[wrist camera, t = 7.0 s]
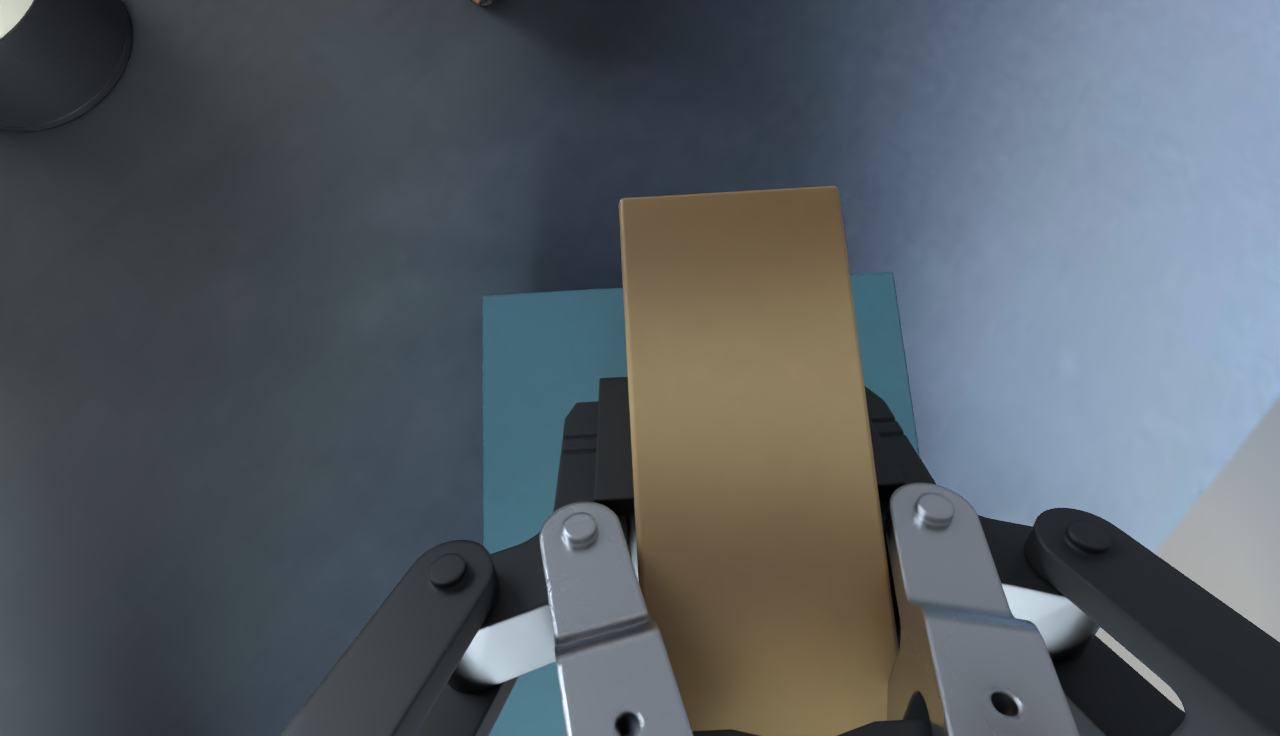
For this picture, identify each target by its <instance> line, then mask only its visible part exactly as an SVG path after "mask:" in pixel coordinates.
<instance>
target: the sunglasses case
mask: <svg viewBox="0 0 1280 736" xmlns="http://www.w3.org/2000/svg"><path fill="white" fill-rule="evenodd" d="M471 1H473V2H474V3H475V4H477V5H483V6H488V5H490V4H491V3H492V1H494V0H471Z"/></svg>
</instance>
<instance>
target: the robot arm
mask: <svg viewBox="0 0 1280 736" xmlns="http://www.w3.org/2000/svg"><path fill="white" fill-rule="evenodd" d="M865 394H866V402H867V409H868V417H869V425H870V432H871V440H872V448H873V455H874V463H875V471H876V478H877V486H878V494H879V501H880V509H881V517H882V524H883V532H884V540H885V547H886V555H887V563H888V570H889V578H890V586H891V593H892V601H893V609H894V616H895V624H896V632H897V639H898V647H899V651H898V654H897V657H896V660H895V663H894V666H893V668H892V671H891V674H890V677H889V680H888V695H887V721H874V722H872V723H869V724H866V725H864V726H861V727H858V728H856V729H853V730H850V731H848V732H845V733H842V734H840V735H837V736H1280V642H1278V641H1277V640H1275V639H1274V638H1273V637H1271V636H1270V635H1268V634H1267V633H1265V632H1264V631H1263V630H1261V629H1260V628H1258V627H1257V626H1256V625H1254V624H1253V623H1251V622H1250V621H1248V620H1247V619H1246V618H1244V617H1243V616H1241V615H1240V614H1239V613H1237V612H1236V611H1234V610H1233V609H1232V608H1230V607H1229V606H1227V605H1226V604H1225V603H1223V602H1222V601H1220V600H1219V599H1217V598H1216V597H1215V596H1213V595H1212V594H1210V593H1209V592H1208V591H1206V590H1205V589H1203V588H1202V587H1201V586H1199V585H1198V584H1196V583H1195V582H1193V581H1192V580H1190V579H1189V578H1188V577H1186V576H1185V575H1184V574H1182V573H1181V572H1179V571H1178V570H1176V569H1175V568H1174V567H1172V566H1171V565H1169V564H1168V563H1167V562H1165V561H1164V560H1162V559H1161V558H1159V557H1158V556H1157V555H1155V554H1154V553H1153V552H1151V551H1150V550H1148V549H1147V548H1145V547H1144V546H1143V545H1141V544H1140V543H1138V542H1137V541H1136V540H1134V539H1133V538H1131V537H1130V536H1129V535H1127V534H1126V533H1124V532H1123V531H1121V530H1120V529H1119V528H1117V527H1116V526H1114V525H1113V524H1111V523H1110V522H1108V521H1106V520H1104V519H1102V518H1100V517H1098V516H1096V515H1093V514H1091V513H1088V512H1084V511H1081V510H1076V509H1070V508H1055V509H1050V510H1047V511H1044V512H1043V513H1041V514H1040V515H1039V516H1038V517H1037V519H1036V521H1035V523H1034V526H1033V527H1031V526H1026V525H1020V524H1015V523H1010V522H1004V521H999V520H994V519H989V518H985V517H982V516H979V515H977V513H976V511H975V510H974V508H973V507H972V506H971V505H970V503H969V502H968V501H966V500H965V499H964V498H963V497H962V496H960V495H958V494H957V493H955V492H953V491H951V490H949V489H947V488H944V487H942V486H939V485H936V483H935V482H934V480H933V478H932V477H931V475H930V474H929V472H928V470H927V469H926V467H925V465H924V464H923V462H922V461H921V459H920V457H919V456H918V454H917V452H916V451H915V449H914V448H913V446H912V444H911V443H910V441H909V439H908V438H907V436H906V435H904V433H903V432H904V431H903V430H902V428H901V426H900V425H899V423H898V422H897V421H895V417H894V415H893V413H892V412H891V410H890V409H889V407H888V405H887V404H886V402H885V401H884V400H883V399H882V398H880V397H879V396H878V395H876V394H875V393H874V392H872V391H871V390H870V389H868V388H867V387H866V386H865ZM1100 627H1101V628H1102V629H1104V630H1105V631H1106V632H1107V633H1108V634H1109V635H1111V636H1112V637H1113V638H1114V639H1115V640H1116V641H1118V642H1119V643H1120V644H1121V645H1122V646H1124V647H1125V648H1126V649H1127V650H1128V651H1129V652H1130V653H1132V654H1133V655H1134V656H1135V657H1136V658H1137V659H1139V660H1140V661H1141V662H1142V663H1143V664H1145V665H1146V666H1147V667H1148V668H1149V669H1150V670H1151V671H1153V672H1154V673H1155V674H1156V675H1157V676H1158V677H1160V678H1161V679H1162V680H1163V681H1164V682H1166V684H1168V685H1169V686H1170V687H1171V688H1172V689H1173V691H1174V692H1175V693H1176V694H1177V696H1178V697H1179V699H1180V700H1181V702H1182V704H1183V707H1184V710H1185V712H1183V711H1182V710H1180V709H1179V708H1178V707H1176V706H1175V705H1174V704H1173V703H1172V702H1171V701H1169V700H1168V699H1167V698H1166V697H1165V696H1164V695H1163V694H1161V693H1160V692H1159V691H1158V690H1157V689H1156V688H1155V687H1154V686H1152V685H1151V684H1150V683H1149V682H1148V681H1147V680H1146V679H1144V678H1143V677H1142V676H1141V675H1140V674H1139V673H1138V672H1136V671H1135V670H1134V669H1133V668H1132V667H1131V666H1130V665H1128V664H1127V663H1126V662H1125V661H1124V660H1123V659H1122V658H1120V657H1119V656H1118V655H1117V654H1116V653H1115V652H1114V651H1112V650H1111V649H1110V648H1109V647H1108V646H1107V645H1105V644H1104V643H1103V642H1102V641H1101V640H1100V639H1099V638H1098V637H1097V636H1095V634H1096V632H1097V631H1098V629H1099V628H1100ZM553 662H556V665H557V672H558V678H559V685H560V692H561V698H562V705H563V711H564V718H565V725H566V731H567V736H760V735H755V734H751V733H746V732H742V731H737V730H733V729H726V730H708V731H692V730H691V727H690V724H689V721H688V718H687V714H686V711H685V708H684V705H683V702H682V699H681V696H680V692H679V689H678V686H677V683H676V680H675V677H674V674H673V670H672V667H671V664H670V661H669V658H668V655H667V652H666V649H665V645H664V642H663V639H662V636H661V633H660V630H659V628H658V625H657V623H656V621H655V620H654V619H651V618H650V616H649V614H648V611H647V608H646V604H645V601H644V598H643V595H642V592H641V588H640V585H639V582H638V564H637V545H636V526H635V507H634V488H633V469H632V450H631V431H630V412H629V393H628V377H611V378H600V380H599V400H598V401H596V402H579V403H576V404H575V405H574V407H573V408H572V410H571V411H570V412H569V414H568V415H567V416H566V418H565V422H564V430H563V440H562V447H561V455H560V463H559V471H558V479H557V488H556V496H555V504H554V510H553V513H552V514H551V515H550V516H549V517H548V518H547V519H546V520H545V522H544V523H543V525H542V528H541V530H540V532H539V533H538V534H536V535H535V536H534V537H532V538H531V539H529V540H527V541H525V542H523V543H521V544H518V545H516V546H513V547H510V548H507V549H504V550H501V551H498V552H495V553H492V554H490V553H489V551H488V550H487V549H486V548H485V547H484V546H482V545H480V544H479V543H476V542H473V541H468V540H456V541H450V542H446V543H443V544H440V545H437V546H436V547H434V548H432V549H430V550H428V551H427V552H426V553H424V554H423V555H422V556H421V557H419V558H418V559H417V560H416V562H415V563H414V564H413V565H412V566H411V568H410V569H409V570H408V571H407V573H406V574H405V575H404V577H403V578H402V579H401V580H400V582H399V583H398V584H397V586H396V587H395V588H394V589H393V591H392V592H391V593H390V595H389V596H388V597H387V598H386V600H385V601H384V602H383V604H382V605H381V606H380V607H379V609H378V610H377V611H376V613H375V614H374V615H373V616H372V618H371V619H370V620H369V622H368V623H367V624H366V626H365V627H364V628H363V629H362V631H361V632H360V633H359V635H358V636H357V637H356V638H355V640H354V641H353V642H352V644H351V645H350V646H349V647H348V649H347V650H346V651H345V653H344V654H343V655H342V656H341V658H340V659H339V660H338V662H337V663H336V664H335V665H334V667H333V668H332V669H331V671H330V672H329V673H328V674H327V676H326V677H325V678H324V680H323V681H322V682H321V683H320V685H319V686H318V687H317V689H316V690H315V691H314V692H313V694H312V695H311V696H310V698H309V699H308V700H307V701H306V703H305V704H304V705H303V707H302V708H301V709H300V710H299V712H298V713H297V714H296V716H295V717H294V718H293V719H292V721H291V722H290V723H289V725H288V726H287V727H286V728H285V730H284V731H283V732H282V734H281V735H280V736H489V734H490V732H491V730H492V728H493V726H494V724H495V722H496V721H497V719H498V717H499V715H500V713H501V711H502V709H503V707H504V705H505V703H506V701H507V699H508V697H509V695H510V693H511V691H512V689H513V687H514V685H515V683H516V681H517V679H518V677H519V676H520V675H523V674H525V673H528V672H531V671H533V670H536V669H538V668H541V667H543V666H546V665H548V664H551V663H553Z"/></svg>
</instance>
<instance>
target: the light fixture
mask: <svg viewBox="0 0 1280 736" xmlns="http://www.w3.org/2000/svg"><path fill="white" fill-rule="evenodd" d="M131 45H132V29H131V23H130V19H129V16H128V13H127V11H126V9H125V7H124V5H123V3H122V2H121V1H120V0H0V129H3V130H9V131H19V132H27V131H38V130H44V129H49V128H53V127H56V126H59V125H62V124H64V123H67V122H69V121H71V120H73V119H75V118H77V117H79V116H81V115H82V114H84V113H86V112H87V111H89V110H90V109H91V108H93V107H94V106H95V105H96V104H98V103H99V102H100V101H101V100H102V99H103V98H104V97H105V96H106V95H107V94H108V93H109V92H110V91H111V89H112V88H113V87H114V86H115V84H116V83H117V81H118V80H119V78H120V76H121V75H122V73H123V71H124V69H125V67H126V64H127V62H128V59H129V55H130V51H131Z"/></svg>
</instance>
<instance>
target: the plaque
mask: <svg viewBox="0 0 1280 736" xmlns="http://www.w3.org/2000/svg"><path fill="white" fill-rule="evenodd" d="M619 222H620V241H621V260H622V279H623V298H624V317H625V336H626V355H627V374H628V393H629V412H630V431H631V450H632V469H633V488H634V507H635V526H636V545H637V564H638V582H639V585H640V588H641V592H642V595H643V598H644V601H645V604H646V608H647V611H648V614H649V616H650V618H651V619H654V620H655V621H656V623H657V625H658V628H659V630H660V633H661V636H662V639H663V642H664V645H665V649H666V652H667V655H668V658H669V661H670V664H671V667H672V670H673V674H674V677H675V680H676V683H677V686H678V689H679V692H680V696H681V699H682V702H683V705H684V708H685V711H686V714H687V718H688V721H689V724H690V727H691V730H692V731H708V730H726V729H733V730H737V731H742V732H746V733H751V734H755V735H760V736H837V735H840V734H842V733H845V732H848V731H850V730H853V729H856V728H858V727H861V726H864V725H866V724H869V723H872V722H874V721H887V695H888V680H889V677H890V674H891V671H892V668H893V666H894V663H895V660H896V657H897V654H898V651H899V647H898V639H897V632H896V624H895V616H894V609H893V601H892V593H891V586H890V578H889V570H888V563H887V555H886V547H885V540H884V532H883V524H882V517H881V509H880V501H879V494H878V486H877V478H876V471H875V463H874V455H873V448H872V440H871V432H870V425H869V417H868V409H867V402H866V394H865V386H864V379H863V371H862V363H861V356H860V348H859V340H858V333H857V325H856V317H855V310H854V302H853V294H852V287H851V279H850V271H849V264H848V256H847V248H846V241H845V233H844V225H843V218H842V210H841V202H840V195H839V189H838V187H837V186H821V187H805V188H788V189H771V190H754V191H737V192H720V193H704V194H687V195H670V196H653V197H636V198H623V199H621V200H620V202H619Z"/></svg>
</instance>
